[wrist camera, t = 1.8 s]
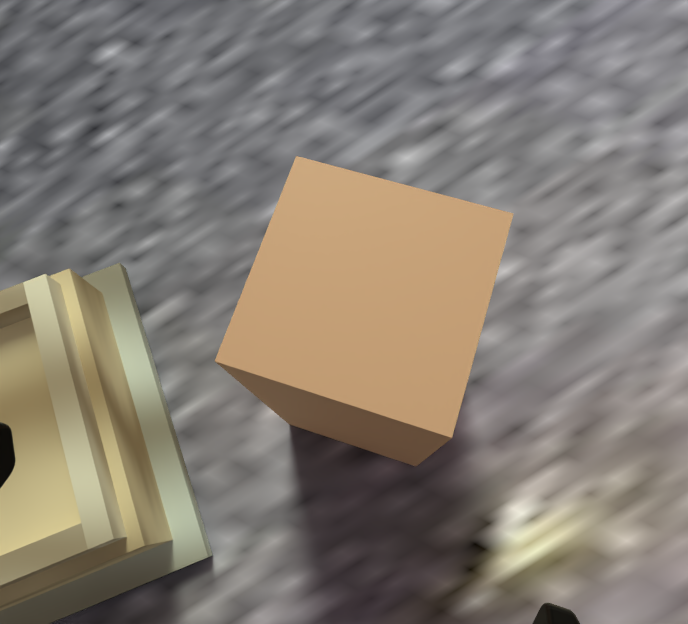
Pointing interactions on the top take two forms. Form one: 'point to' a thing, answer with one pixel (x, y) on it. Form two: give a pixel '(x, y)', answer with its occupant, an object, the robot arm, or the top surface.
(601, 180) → the top surface
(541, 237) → the top surface
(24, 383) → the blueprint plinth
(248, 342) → the column block
